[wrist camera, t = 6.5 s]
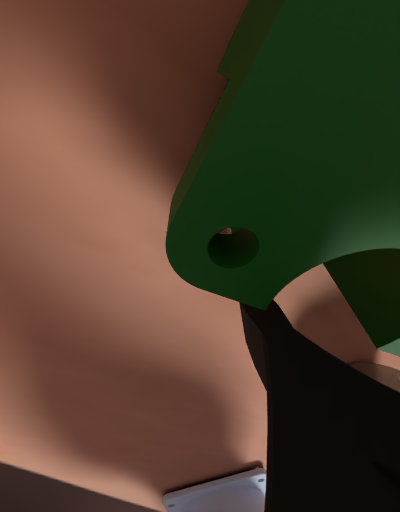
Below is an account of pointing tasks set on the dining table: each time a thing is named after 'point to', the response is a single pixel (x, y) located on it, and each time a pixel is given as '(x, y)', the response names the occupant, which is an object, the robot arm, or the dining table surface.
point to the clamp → (300, 161)
